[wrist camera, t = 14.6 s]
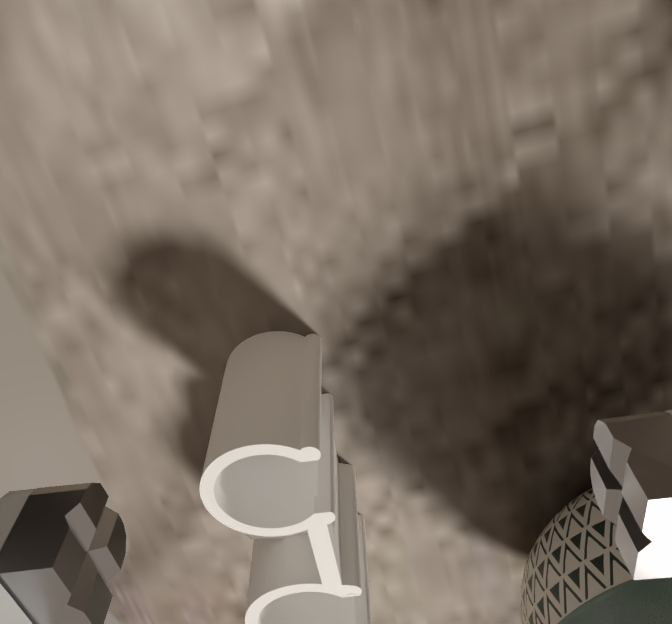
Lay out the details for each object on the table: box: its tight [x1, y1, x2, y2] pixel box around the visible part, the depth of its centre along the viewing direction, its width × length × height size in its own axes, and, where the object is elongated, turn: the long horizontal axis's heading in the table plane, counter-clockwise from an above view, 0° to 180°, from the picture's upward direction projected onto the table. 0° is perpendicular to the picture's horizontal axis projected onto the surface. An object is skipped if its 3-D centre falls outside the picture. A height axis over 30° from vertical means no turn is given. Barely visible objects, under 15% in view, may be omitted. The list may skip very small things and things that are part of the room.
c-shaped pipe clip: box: [200, 331, 372, 624], centre depth 48 cm, size 25×10×12 cm, turn 9°
